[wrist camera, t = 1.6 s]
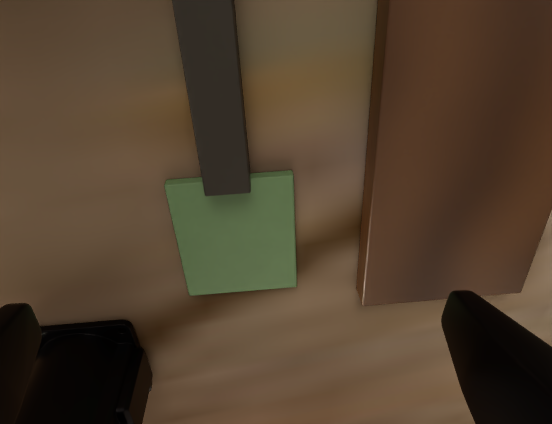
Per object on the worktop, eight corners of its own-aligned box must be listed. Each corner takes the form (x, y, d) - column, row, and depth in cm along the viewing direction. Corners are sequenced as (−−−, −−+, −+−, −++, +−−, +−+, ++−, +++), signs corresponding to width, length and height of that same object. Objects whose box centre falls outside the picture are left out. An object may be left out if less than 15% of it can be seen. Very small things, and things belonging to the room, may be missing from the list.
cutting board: (356, 287, 24) (362, 306, 22) (390, -176, 13) (406, -190, 12) (506, 275, 24) (521, 293, 23) (663, -190, 13) (708, -206, 12)
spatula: (295, 280, 23) (300, 305, 21) (190, 288, 23) (185, 315, 21) (284, -92, 14) (289, -98, 12) (107, -82, 14) (89, -87, 12)
